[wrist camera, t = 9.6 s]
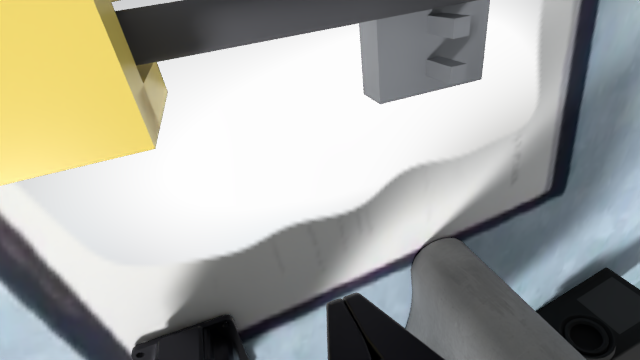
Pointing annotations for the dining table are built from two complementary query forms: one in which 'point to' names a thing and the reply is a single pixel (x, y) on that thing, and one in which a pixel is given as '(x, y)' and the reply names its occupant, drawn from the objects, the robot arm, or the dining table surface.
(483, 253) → the dining table surface
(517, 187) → the dining table surface
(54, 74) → the sleeve
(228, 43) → the dark grey rod
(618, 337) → the digital camera
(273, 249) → the dining table surface
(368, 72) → the grey pronged block
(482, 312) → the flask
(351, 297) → the robot arm
